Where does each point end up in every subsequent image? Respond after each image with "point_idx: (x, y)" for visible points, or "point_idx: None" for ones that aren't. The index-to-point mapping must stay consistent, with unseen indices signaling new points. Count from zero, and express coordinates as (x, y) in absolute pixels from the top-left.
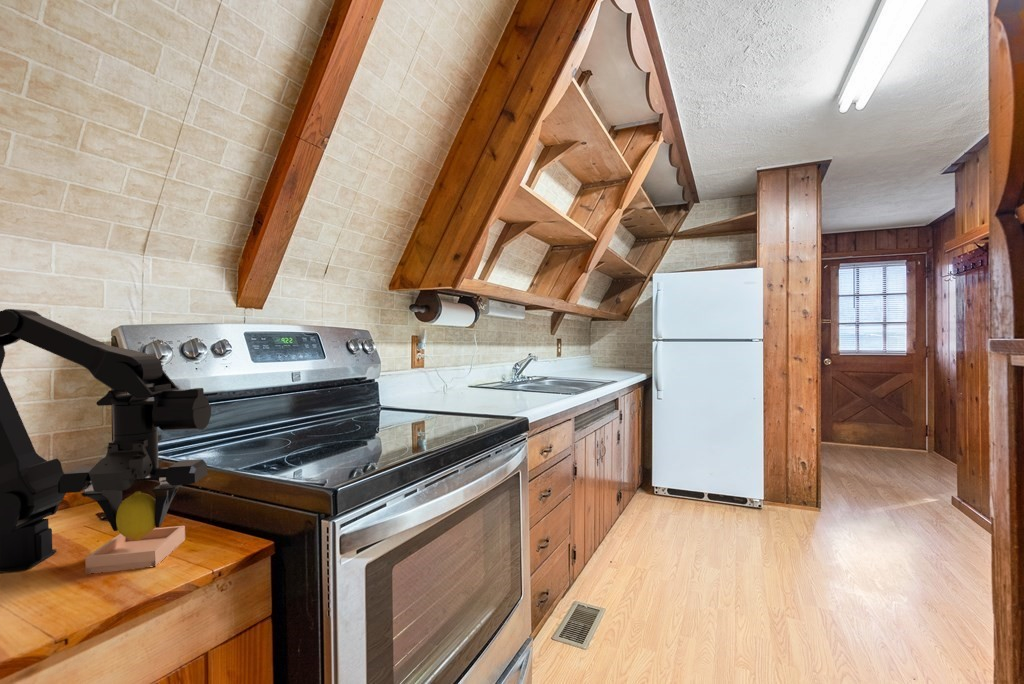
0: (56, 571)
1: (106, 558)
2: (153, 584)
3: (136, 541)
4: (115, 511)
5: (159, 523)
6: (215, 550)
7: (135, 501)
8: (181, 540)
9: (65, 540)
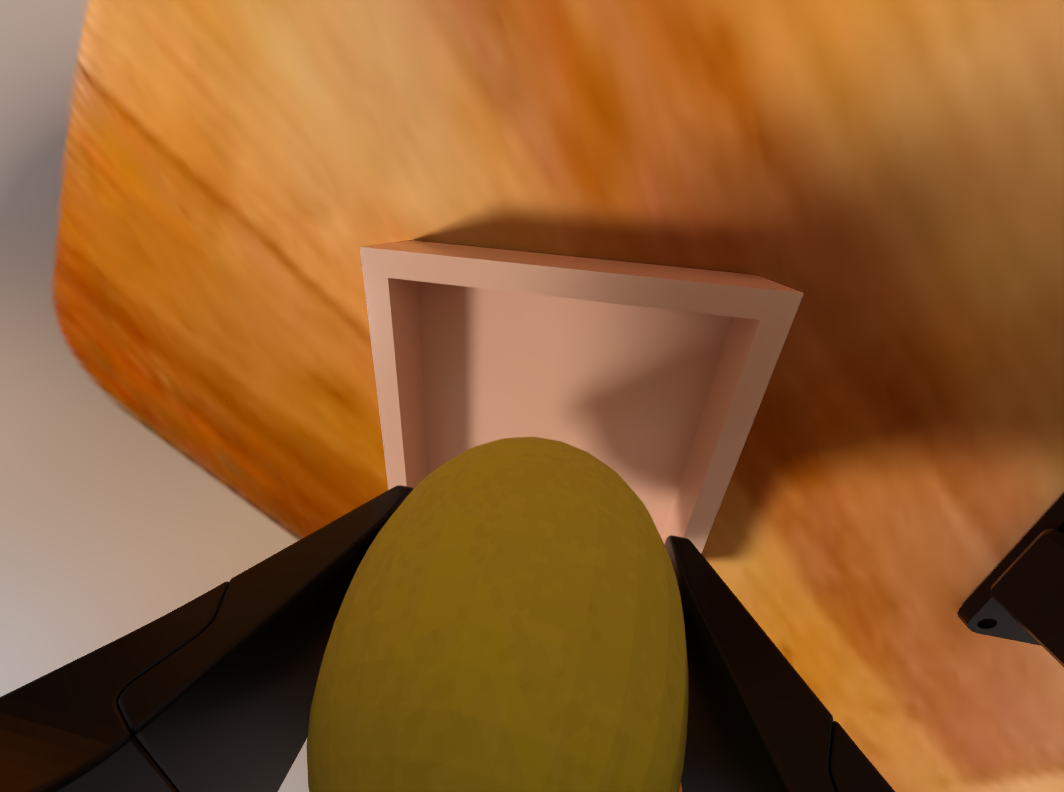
0: (928, 387)
1: (656, 274)
2: None
3: None
4: (714, 716)
5: (375, 498)
6: (236, 352)
7: (412, 777)
8: None
9: (925, 711)
